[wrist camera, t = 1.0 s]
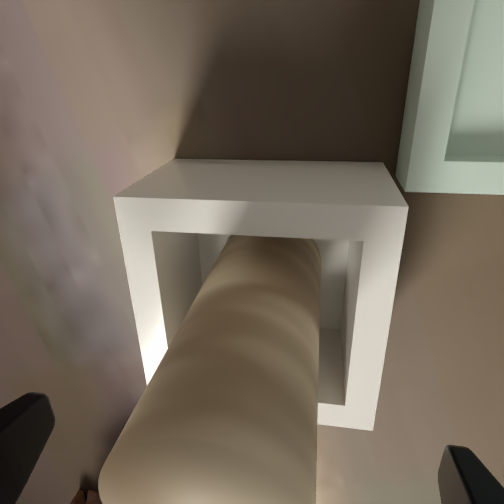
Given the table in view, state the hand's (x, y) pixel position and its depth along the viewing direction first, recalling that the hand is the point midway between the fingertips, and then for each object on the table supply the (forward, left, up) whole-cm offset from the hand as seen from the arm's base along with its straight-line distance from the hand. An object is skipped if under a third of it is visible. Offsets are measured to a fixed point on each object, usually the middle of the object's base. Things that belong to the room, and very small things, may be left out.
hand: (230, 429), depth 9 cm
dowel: (0, 0, -8) cm, 8 cm away
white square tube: (0, 0, -9) cm, 9 cm away
